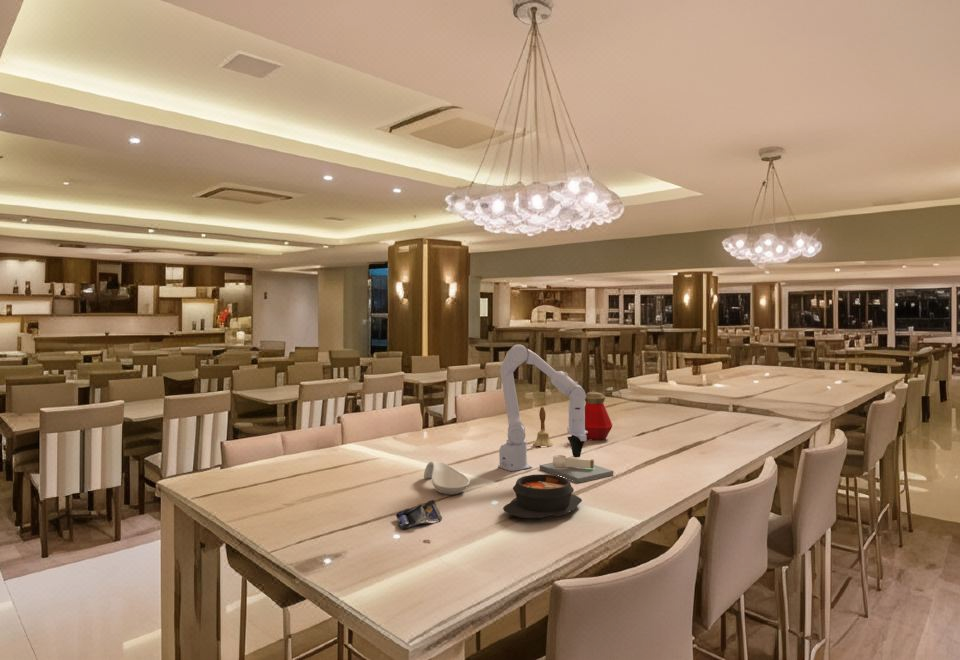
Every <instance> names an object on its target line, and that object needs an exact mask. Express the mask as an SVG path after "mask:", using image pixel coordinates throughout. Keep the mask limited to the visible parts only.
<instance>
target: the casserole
mask: <svg viewBox="0 0 960 660" xmlns="http://www.w3.org/2000/svg"><path fill="white" fill-rule="evenodd" d="M512 490H513V492H514V493H515V497H514V498H513V499H512V500H511V501H510V502H509V503H507V504H505V505H504V506H503V507H502V510H503V511H504V512H505V513H506V514H507V513H508V514H509V515H511V516H515V517H517V518H523V519H531V520H532V519H539V518H540V519H541V518H553V517H558V516H561V515H566V514H569V513H571V512H573V511H574V510H576V508H577V507H578V505H579V504H580V503H582V502H583V499H582V498H581V497H580V496H578V495H575V494H573V493H574V490H575V489H574V487H573V486H572V485H571V482H570V480H569V479H566V478H563V477H560V476H557V475H554V474H543V473H541V474H529V475H524V476H521V477H519V478H517V480H516V481H515V485H514V486H513V487H512Z"/></svg>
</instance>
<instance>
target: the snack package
mask: <svg viewBox="0 0 960 660" xmlns="http://www.w3.org/2000/svg"><path fill="white" fill-rule="evenodd" d="M395 516H396V518H397V525H398V527H399V529H401V530H402V531H404V530H403V529H405V530H407V529H409V528H412V527H415V526H418V525H420V524H430V522H434V524H437V522H441V521H442V520H443V516H442V515H441V512H440V510H439V508H438V507H437V503H436V502H435V500H434V499H431V500H429V501H428V502H427V503H424V505H422V504H420V503H418V504H417V505H416V506H414V507H412V508H406V509H403V510H401V511H399V512H396V514H395ZM439 519H440V520H439ZM421 520H425V521H421ZM426 520H428V521H426ZM438 520H439V521H438ZM400 524H401V525H400ZM399 525H400V526H399Z"/></svg>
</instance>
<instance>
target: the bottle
mask: <svg viewBox="0 0 960 660" xmlns="http://www.w3.org/2000/svg"><path fill="white" fill-rule="evenodd" d="M585 394H586V398H585V400H584V402H585V404H584V406H585V430H586V431H588V433H586V434H585V435H586V436H587V440H589V439H592V440H591V441H604V439H605V440H606V439H607V437H608V435H609V433H610V432H611V431H612V428H613V423H612V420H611V418H610V416H609V415H610V414H609V413H608V411H607V409H606V406H605V404H604V402H605V399H606V396H605V395H604V393H602V392H597V391H595V392H594V391H593V392H592V391H591V392H587V393H585Z"/></svg>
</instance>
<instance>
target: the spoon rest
mask: <svg viewBox="0 0 960 660" xmlns="http://www.w3.org/2000/svg"><path fill="white" fill-rule="evenodd" d="M423 478H424V479H425V480H426V479H431V483H432V486H433V487H434V489H435V490H436V491H437V492H439V493H441V494H442V493H443V495H458V494H459V493H460V494H461V493H462V492H464V491H465V490H466V489H468V487H469V486H470V484H471V482H470V479H469V478H468V477H467V476H466V475H464V474H463V473H462V472H460V471H458V470H456V469H455V468H453V467H452V466H450V465H449V464H447V463H445V462H444V461H442V460H437V461H430V462H428V464H427V465H426V467H425V470H424V472H423Z"/></svg>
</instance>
